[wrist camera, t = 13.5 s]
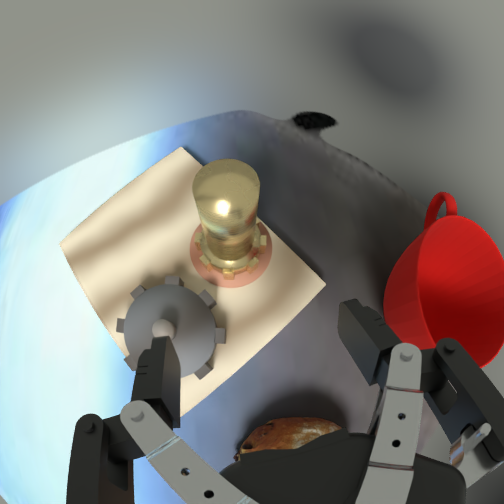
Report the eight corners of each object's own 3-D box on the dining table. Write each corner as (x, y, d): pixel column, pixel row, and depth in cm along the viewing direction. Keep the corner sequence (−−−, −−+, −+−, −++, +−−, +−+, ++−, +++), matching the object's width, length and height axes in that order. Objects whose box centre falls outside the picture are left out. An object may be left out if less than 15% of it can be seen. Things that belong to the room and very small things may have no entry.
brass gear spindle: (184, 245, 25) (155, 184, 16) (233, 206, 27) (231, 133, 17) (228, 293, 24) (219, 253, 14) (278, 249, 25) (299, 188, 16)
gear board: (65, 248, 26) (42, 230, 21) (183, 154, 31) (175, 125, 26) (181, 415, 21) (167, 429, 16) (321, 288, 26) (338, 273, 21)
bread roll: (295, 486, 21) (342, 518, 14) (211, 483, 18) (248, 533, 11) (329, 413, 25) (386, 433, 18) (248, 397, 21) (302, 430, 14)
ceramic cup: (445, 234, 29) (493, 197, 19) (448, 369, 23) (512, 364, 13) (360, 214, 29) (400, 160, 20) (353, 372, 23) (411, 378, 14)
